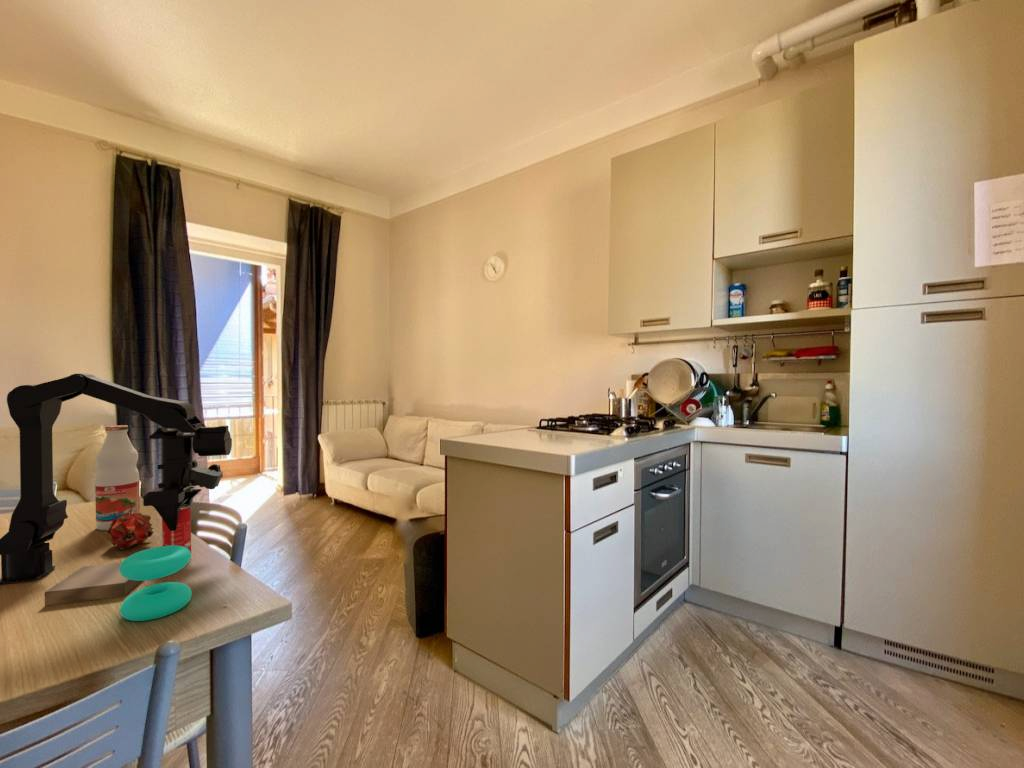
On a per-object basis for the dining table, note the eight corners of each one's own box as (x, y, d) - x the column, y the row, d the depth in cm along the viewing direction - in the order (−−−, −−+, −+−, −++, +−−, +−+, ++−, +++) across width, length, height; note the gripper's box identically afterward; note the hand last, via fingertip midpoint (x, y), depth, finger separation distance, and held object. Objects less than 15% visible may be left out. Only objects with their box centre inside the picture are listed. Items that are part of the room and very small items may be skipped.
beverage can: (176, 565, 100) (175, 510, 100) (156, 564, 101) (155, 509, 101) (197, 556, 105) (196, 504, 105) (178, 555, 107) (177, 503, 106)
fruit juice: (147, 519, 135) (145, 423, 134) (128, 529, 126) (126, 427, 125) (109, 521, 133) (107, 424, 132) (87, 532, 123) (85, 428, 123)
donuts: (183, 558, 79) (109, 568, 75) (184, 616, 79) (110, 630, 75) (196, 539, 88) (130, 548, 84) (197, 592, 88) (131, 602, 84)
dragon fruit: (137, 543, 119) (133, 564, 110) (100, 530, 115) (93, 551, 105) (160, 514, 121) (158, 533, 112) (126, 500, 117) (121, 518, 107)
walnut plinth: (44, 605, 83) (44, 592, 83) (83, 578, 94) (83, 566, 94) (125, 595, 86) (125, 582, 86) (153, 570, 98) (153, 558, 98)
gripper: (204, 462, 97) (205, 536, 97) (229, 449, 115) (230, 512, 115) (141, 465, 93) (142, 542, 94) (177, 452, 111) (178, 516, 111)
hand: (178, 526), depth 103 cm, fingers closed on beverage can, 5 cm apart
